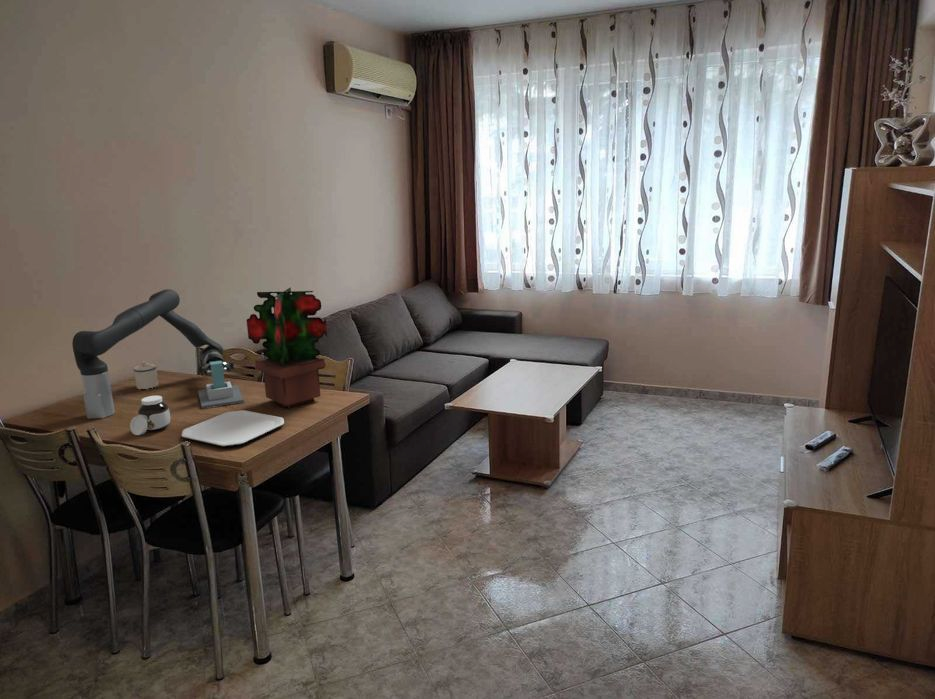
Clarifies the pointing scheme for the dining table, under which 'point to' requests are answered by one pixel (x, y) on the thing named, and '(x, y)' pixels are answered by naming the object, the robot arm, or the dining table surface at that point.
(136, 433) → the spread jar
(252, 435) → the plate
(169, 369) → the dining table surface
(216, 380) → the teal peg
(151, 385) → the teacup with lid
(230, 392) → the socket holder
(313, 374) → the potted plant
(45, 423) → the dining table surface
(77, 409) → the dining table surface
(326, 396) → the dining table surface
